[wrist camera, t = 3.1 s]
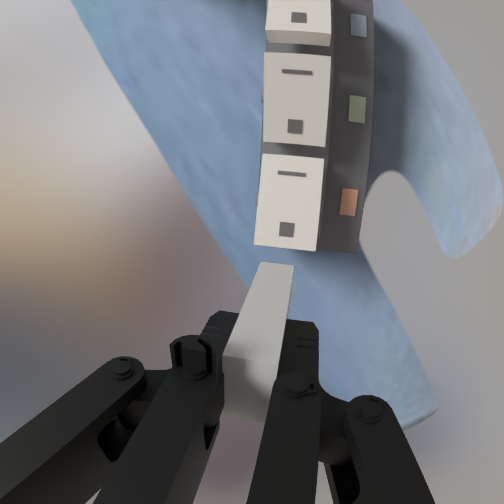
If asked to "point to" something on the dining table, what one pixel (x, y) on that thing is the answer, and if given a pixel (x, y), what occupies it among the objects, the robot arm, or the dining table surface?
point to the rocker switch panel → (341, 123)
